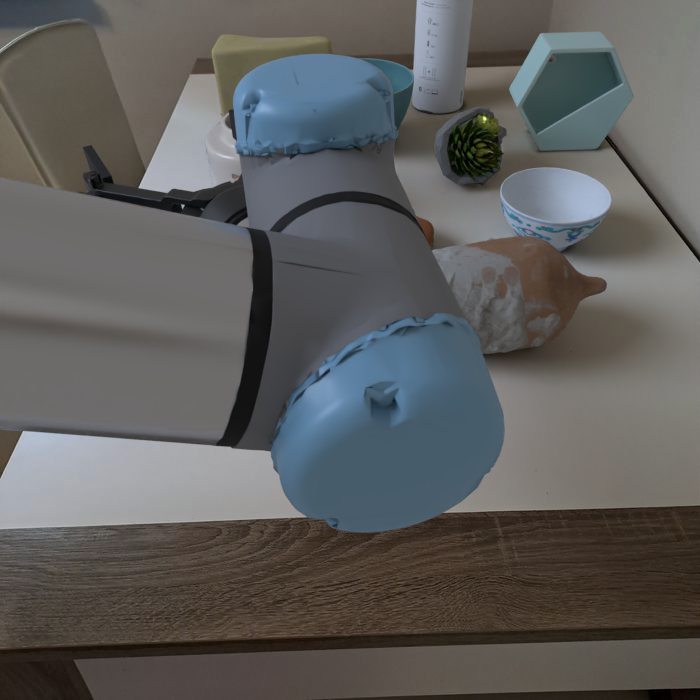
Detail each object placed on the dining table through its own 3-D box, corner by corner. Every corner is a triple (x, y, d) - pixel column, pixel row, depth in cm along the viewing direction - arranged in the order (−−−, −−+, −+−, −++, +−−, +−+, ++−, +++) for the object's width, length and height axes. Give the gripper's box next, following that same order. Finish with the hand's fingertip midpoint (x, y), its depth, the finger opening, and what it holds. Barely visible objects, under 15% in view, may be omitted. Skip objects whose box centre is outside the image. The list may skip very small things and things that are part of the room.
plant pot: (328, 119, 127) (324, 54, 118) (419, 127, 123) (422, 60, 115) (299, 162, 114) (293, 93, 106) (400, 172, 110) (402, 102, 102)
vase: (321, 196, 105) (314, 94, 94) (317, 250, 94) (308, 142, 83) (228, 198, 106) (210, 97, 94) (213, 252, 95) (190, 145, 83)
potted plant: (505, 136, 112) (547, 151, 99) (453, 192, 114) (487, 214, 101) (461, 85, 106) (499, 94, 93) (407, 145, 109) (437, 162, 96)
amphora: (642, 285, 66) (354, 236, 64) (585, 405, 75) (330, 365, 73) (602, 232, 78) (357, 189, 76) (557, 342, 87) (336, 306, 85)
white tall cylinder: (473, 102, 131) (489, -45, 113) (443, 120, 125) (455, -33, 107) (431, 89, 136) (440, -54, 118) (400, 105, 130) (405, -42, 112)
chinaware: (472, 230, 97) (478, 184, 92) (549, 203, 102) (558, 157, 97) (540, 283, 87) (551, 234, 82) (621, 249, 92) (636, 202, 87)
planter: (552, 174, 118) (502, 80, 106) (542, 154, 123) (494, 63, 112) (644, 122, 111) (602, 16, 99) (630, 103, 117) (588, 1, 105)
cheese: (340, 108, 130) (337, 29, 120) (336, 129, 123) (333, 47, 113) (232, 108, 132) (219, 30, 121) (222, 130, 125) (208, 48, 114)
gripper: (103, 357, 44) (40, 216, 57) (407, 244, 53) (290, 145, 66) (66, 267, 39) (7, 135, 52) (410, 159, 48) (283, 70, 61)
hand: (165, 140), depth 59 cm, fingers open, 13 cm apart
